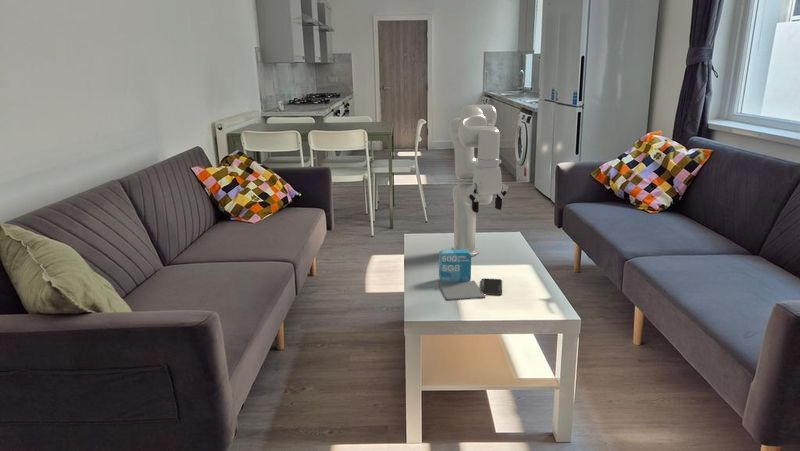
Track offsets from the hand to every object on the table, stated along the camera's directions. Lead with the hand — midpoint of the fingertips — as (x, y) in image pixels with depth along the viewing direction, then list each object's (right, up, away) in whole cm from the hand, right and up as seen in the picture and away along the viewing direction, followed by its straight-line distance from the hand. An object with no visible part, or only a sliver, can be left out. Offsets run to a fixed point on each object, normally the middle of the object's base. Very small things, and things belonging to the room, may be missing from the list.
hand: (486, 210), depth 198 cm
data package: (-10, -27, +14) cm, 32 cm away
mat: (-9, -30, +3) cm, 31 cm away
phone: (+3, -29, +6) cm, 30 cm away
